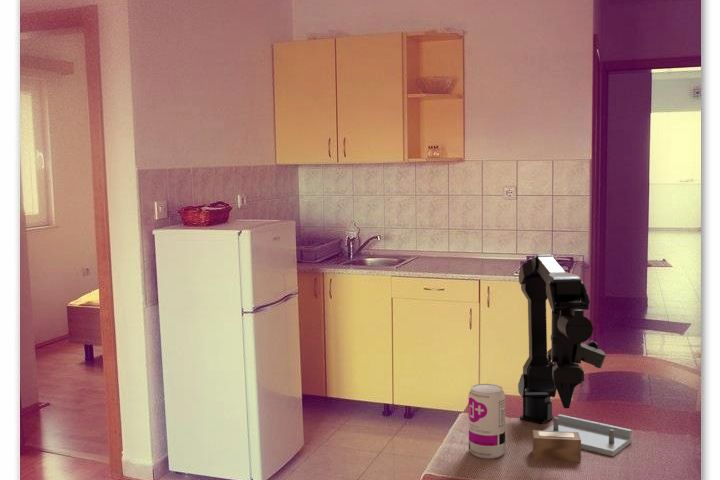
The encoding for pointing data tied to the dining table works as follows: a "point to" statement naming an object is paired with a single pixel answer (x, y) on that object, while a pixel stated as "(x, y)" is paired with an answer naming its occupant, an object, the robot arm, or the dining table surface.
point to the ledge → (594, 434)
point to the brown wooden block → (556, 445)
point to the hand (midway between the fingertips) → (564, 401)
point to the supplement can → (487, 421)
